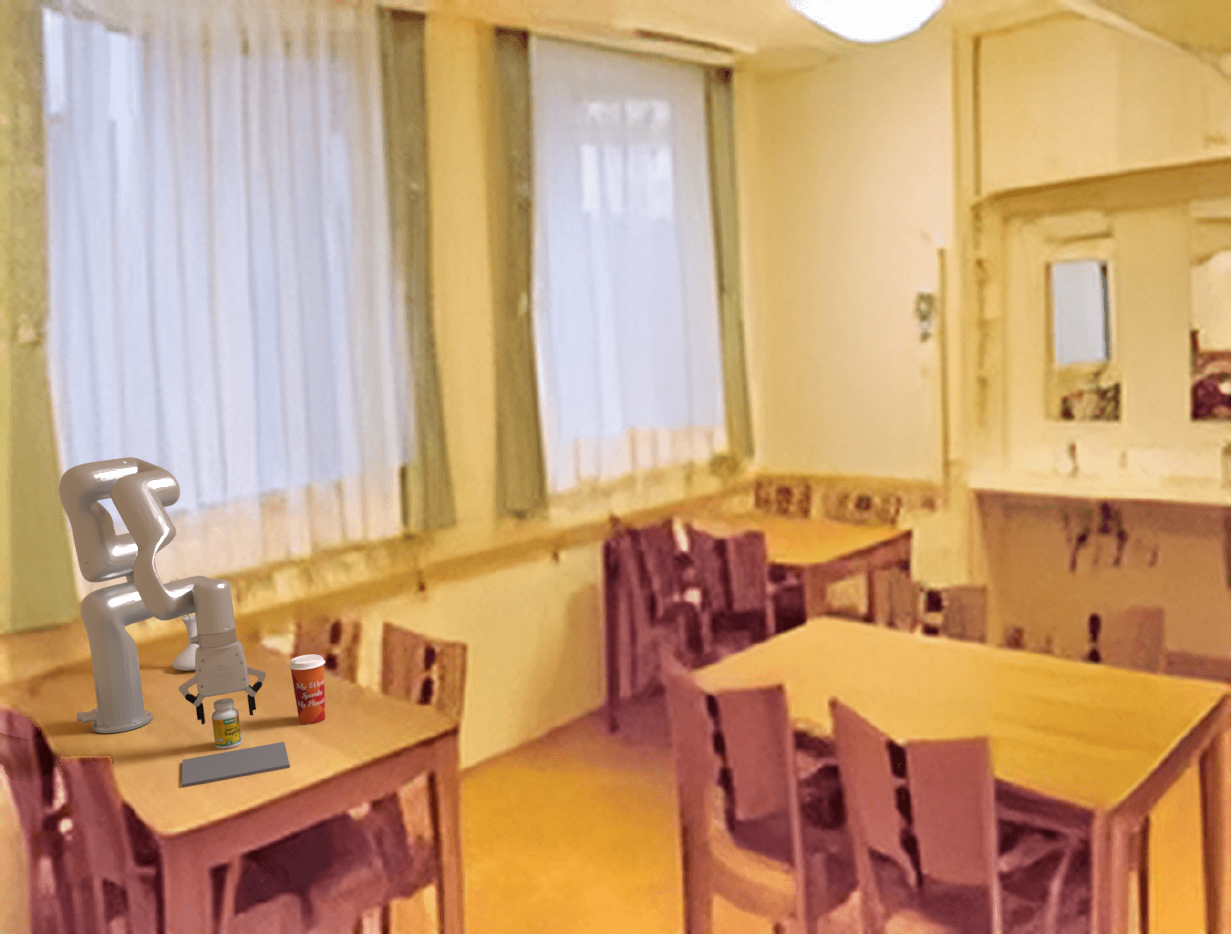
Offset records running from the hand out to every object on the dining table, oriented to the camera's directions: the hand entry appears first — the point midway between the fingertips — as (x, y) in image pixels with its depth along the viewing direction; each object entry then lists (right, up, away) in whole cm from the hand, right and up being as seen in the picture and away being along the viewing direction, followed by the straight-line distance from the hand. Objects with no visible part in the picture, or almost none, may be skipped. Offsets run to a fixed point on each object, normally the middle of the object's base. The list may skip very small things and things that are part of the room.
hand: (227, 718), depth 235 cm
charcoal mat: (+5, -7, -11) cm, 14 cm away
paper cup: (+14, -4, +14) cm, 20 cm away
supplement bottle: (0, -6, +1) cm, 6 cm away
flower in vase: (-30, -1, +60) cm, 67 cm away
